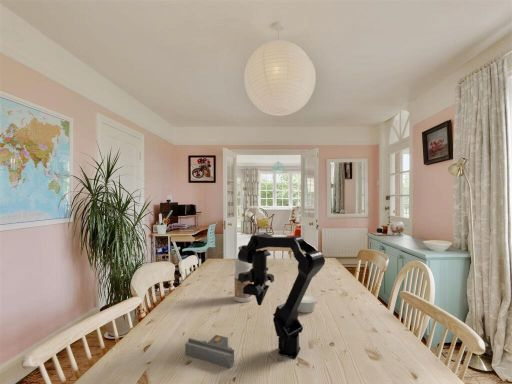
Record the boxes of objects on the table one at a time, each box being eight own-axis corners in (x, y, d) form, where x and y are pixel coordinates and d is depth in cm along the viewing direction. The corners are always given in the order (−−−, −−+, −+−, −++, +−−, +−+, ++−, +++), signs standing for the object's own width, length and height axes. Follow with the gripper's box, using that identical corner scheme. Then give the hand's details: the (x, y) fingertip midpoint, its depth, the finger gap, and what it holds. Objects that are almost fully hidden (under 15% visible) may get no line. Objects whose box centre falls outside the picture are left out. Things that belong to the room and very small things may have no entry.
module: (227, 348, 97) (227, 336, 97) (217, 359, 90) (217, 346, 90) (216, 345, 99) (216, 333, 99) (205, 356, 92) (205, 342, 92)
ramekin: (302, 302, 137) (302, 292, 137) (320, 309, 129) (320, 298, 129) (288, 309, 130) (288, 298, 130) (307, 316, 122) (307, 305, 122)
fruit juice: (231, 298, 143) (231, 246, 143) (246, 294, 148) (246, 244, 148) (240, 304, 135) (240, 249, 135) (255, 300, 140) (255, 247, 141)
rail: (239, 356, 91) (239, 343, 91) (230, 368, 85) (230, 354, 85) (196, 345, 98) (196, 332, 98) (185, 355, 92) (185, 341, 93)
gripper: (250, 258, 117) (250, 293, 117) (230, 269, 100) (230, 310, 100) (274, 261, 113) (274, 297, 113) (257, 273, 96) (257, 316, 96)
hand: (259, 304), depth 105 cm, fingers closed
